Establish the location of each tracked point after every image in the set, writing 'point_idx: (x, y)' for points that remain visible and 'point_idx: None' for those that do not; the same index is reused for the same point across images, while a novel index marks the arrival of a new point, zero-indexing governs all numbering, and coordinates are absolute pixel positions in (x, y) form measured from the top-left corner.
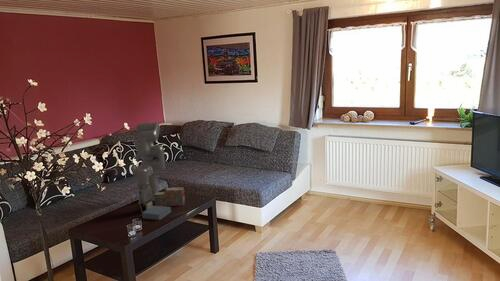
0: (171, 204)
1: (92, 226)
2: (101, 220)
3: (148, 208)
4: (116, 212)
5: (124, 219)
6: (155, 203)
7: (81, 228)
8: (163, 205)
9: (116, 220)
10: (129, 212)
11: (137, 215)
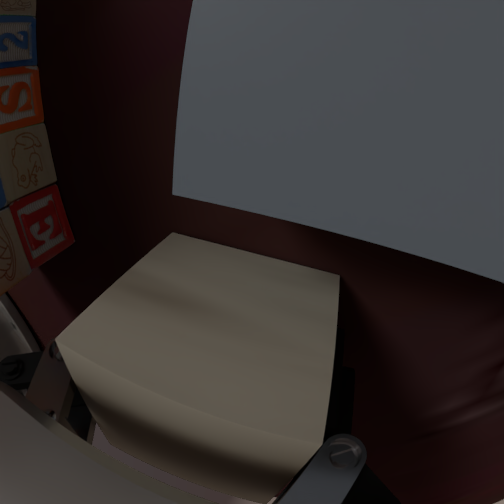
0: (19, 12)
1: (498, 488)
2: (431, 501)
3: (295, 314)
4: None
5: (497, 432)
6: (40, 258)
7: (493, 498)
8: (35, 120)
9: (483, 460)
10: None
11: (443, 380)
